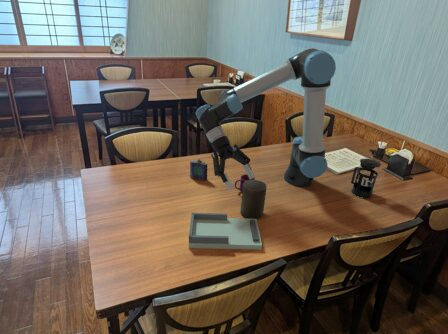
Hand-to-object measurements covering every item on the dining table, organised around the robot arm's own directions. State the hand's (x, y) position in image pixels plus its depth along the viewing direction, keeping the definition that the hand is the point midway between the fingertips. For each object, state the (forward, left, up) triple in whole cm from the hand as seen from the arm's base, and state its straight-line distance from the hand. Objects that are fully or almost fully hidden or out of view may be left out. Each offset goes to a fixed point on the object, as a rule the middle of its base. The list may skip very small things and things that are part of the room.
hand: (242, 183), depth 128 cm
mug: (-3, -15, -12) cm, 20 cm away
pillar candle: (-5, +4, -12) cm, 14 cm away
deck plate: (+7, +19, -12) cm, 23 cm away
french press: (-61, -16, -12) cm, 64 cm away
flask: (+19, -26, -12) cm, 35 cm away
